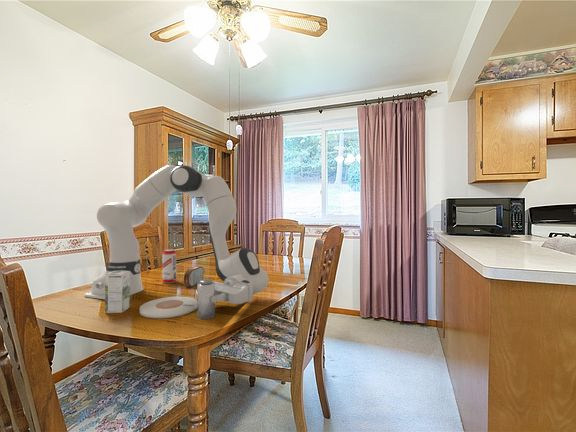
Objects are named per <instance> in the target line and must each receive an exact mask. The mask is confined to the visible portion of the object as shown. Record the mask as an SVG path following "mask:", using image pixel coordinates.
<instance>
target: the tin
mask: <svg viewBox="0 0 576 432" xmlns="http://www.w3.org/2000/svg"><path fill="white" fill-rule="evenodd" d="M204 273H205V271H204V267H203V266H201V265H195V266H191V267H189V268H187V269H186V271H185V273H184V276H183V285H184V286H185V287H190V288H191V287H194V286H196V285H197V284H198V283H200V280H204Z"/></svg>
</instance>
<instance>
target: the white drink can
mask: <svg viewBox="0 0 576 432" xmlns="http://www.w3.org/2000/svg"><path fill="white" fill-rule="evenodd" d="M196 285H197V287H196V288H197V289H196V293H197V298H196V300H197V302H198V307H197V319H200V320H211V319H212V318H214V317H216V302H211V301H210V296H213V295H215V283H214V282H213V279H211V278H206V279H205V278H203V279H202V280H200V283H198V284H196Z"/></svg>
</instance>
